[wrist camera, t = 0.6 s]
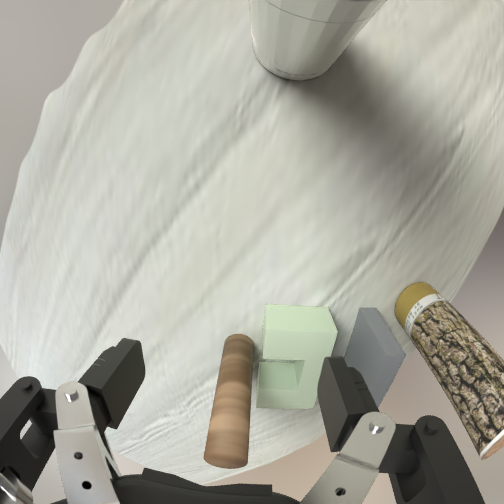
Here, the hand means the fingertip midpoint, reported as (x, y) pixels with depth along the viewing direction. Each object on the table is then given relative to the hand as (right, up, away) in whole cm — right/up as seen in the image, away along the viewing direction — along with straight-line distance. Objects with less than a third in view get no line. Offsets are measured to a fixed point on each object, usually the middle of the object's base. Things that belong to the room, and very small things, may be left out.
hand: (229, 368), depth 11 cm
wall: (+16, -9, +25) cm, 31 cm away
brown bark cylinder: (+24, -2, +22) cm, 33 cm away
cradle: (+7, -8, +25) cm, 27 cm away
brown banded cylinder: (-1, -8, +25) cm, 26 cm away
